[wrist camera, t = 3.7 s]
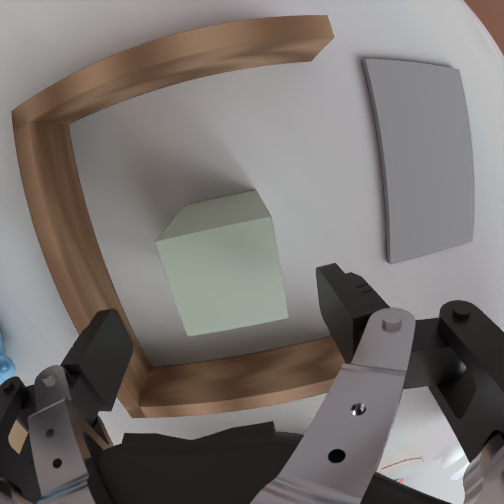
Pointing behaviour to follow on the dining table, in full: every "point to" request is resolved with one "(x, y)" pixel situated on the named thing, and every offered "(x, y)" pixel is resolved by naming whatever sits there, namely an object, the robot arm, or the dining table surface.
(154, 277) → the dining table surface
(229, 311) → the sage block
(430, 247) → the grey mat
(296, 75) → the dining table surface
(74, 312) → the walnut u-shaped frame
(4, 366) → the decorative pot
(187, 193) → the dining table surface
